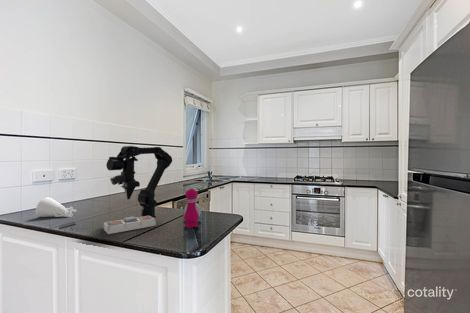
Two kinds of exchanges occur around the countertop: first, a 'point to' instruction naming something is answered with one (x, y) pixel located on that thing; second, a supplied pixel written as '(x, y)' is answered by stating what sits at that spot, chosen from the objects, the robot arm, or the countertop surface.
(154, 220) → the compartment tray
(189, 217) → the pepper mill
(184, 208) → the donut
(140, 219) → the key
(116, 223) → the key
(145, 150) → the robot arm
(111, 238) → the countertop surface
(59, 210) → the rocket engine
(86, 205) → the countertop surface
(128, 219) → the middle key
